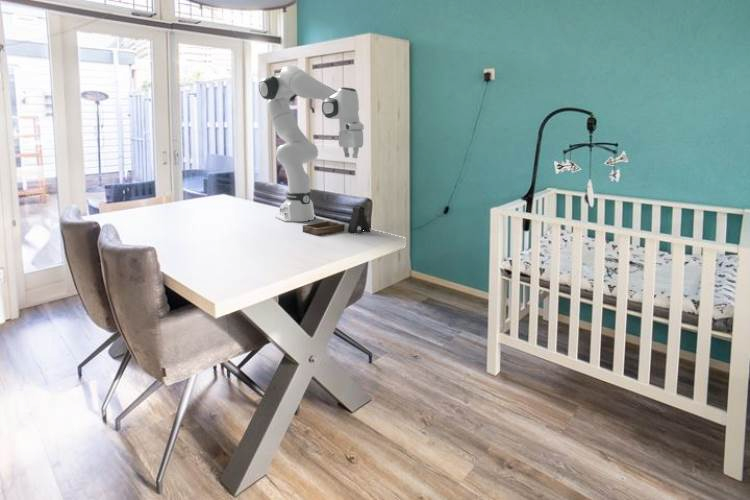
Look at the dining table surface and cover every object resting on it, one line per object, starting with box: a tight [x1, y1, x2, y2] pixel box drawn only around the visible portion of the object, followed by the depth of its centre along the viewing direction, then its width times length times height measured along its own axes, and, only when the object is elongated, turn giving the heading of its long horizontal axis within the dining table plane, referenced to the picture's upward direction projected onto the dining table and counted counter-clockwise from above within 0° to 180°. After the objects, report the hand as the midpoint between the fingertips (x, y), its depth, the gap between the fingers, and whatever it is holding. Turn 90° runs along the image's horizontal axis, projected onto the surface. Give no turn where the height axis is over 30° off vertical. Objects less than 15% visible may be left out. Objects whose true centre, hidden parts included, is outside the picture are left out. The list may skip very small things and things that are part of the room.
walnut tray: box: [302, 220, 346, 237], centre depth 241 cm, size 12×15×3 cm
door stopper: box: [347, 204, 371, 235], centre depth 239 cm, size 9×6×12 cm, turn 118°
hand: (351, 157), depth 233 cm, fingers open, 8 cm apart
